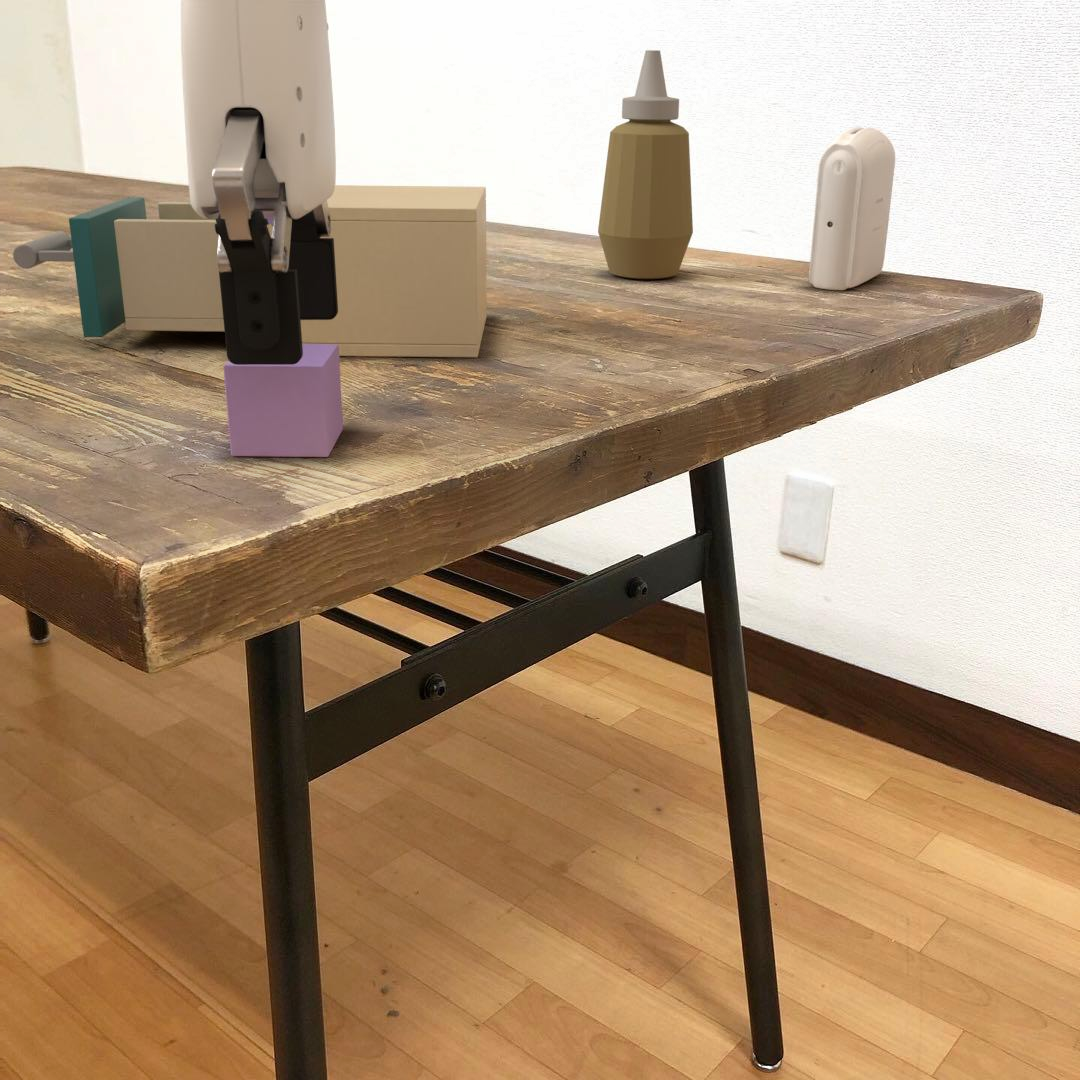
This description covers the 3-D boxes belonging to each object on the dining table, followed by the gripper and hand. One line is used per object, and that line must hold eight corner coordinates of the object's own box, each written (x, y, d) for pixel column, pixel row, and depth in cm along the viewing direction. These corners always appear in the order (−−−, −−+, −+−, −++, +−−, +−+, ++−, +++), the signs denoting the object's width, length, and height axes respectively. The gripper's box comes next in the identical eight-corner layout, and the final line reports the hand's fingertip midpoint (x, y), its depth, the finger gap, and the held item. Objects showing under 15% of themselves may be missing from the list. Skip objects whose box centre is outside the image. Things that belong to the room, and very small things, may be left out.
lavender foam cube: (231, 456, 58) (222, 365, 57) (252, 428, 62) (245, 342, 61) (328, 457, 58) (323, 366, 57) (343, 429, 62) (338, 343, 61)
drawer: (7, 336, 78) (-11, 217, 75) (72, 301, 88) (58, 196, 85) (298, 339, 77) (290, 220, 75) (327, 304, 88) (322, 199, 85)
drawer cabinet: (244, 355, 77) (232, 205, 74) (284, 315, 89) (275, 184, 86) (477, 357, 77) (476, 208, 74) (486, 317, 89) (485, 186, 86)
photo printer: (852, 293, 99) (869, 131, 95) (801, 287, 101) (815, 129, 97) (888, 275, 108) (905, 125, 103) (840, 270, 110) (855, 123, 105)
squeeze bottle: (621, 285, 101) (629, 50, 95) (581, 270, 108) (586, 49, 102) (707, 280, 104) (721, 51, 98) (663, 265, 111) (673, 50, 105)
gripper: (218, -46, 60) (249, 305, 66) (98, -84, 44) (154, 384, 50) (372, -47, 60) (388, 305, 66) (308, -85, 44) (338, 384, 50)
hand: (287, 339), depth 58 cm, fingers open, 9 cm apart
